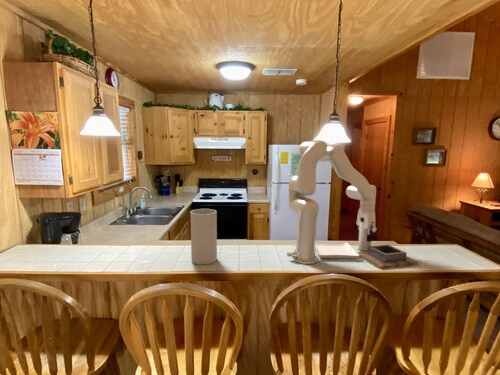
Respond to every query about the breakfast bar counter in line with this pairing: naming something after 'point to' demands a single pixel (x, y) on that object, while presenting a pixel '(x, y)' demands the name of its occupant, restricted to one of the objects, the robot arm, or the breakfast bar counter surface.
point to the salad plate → (335, 250)
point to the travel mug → (363, 237)
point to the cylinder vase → (204, 236)
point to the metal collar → (391, 251)
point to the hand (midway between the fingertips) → (365, 238)
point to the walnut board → (383, 265)
